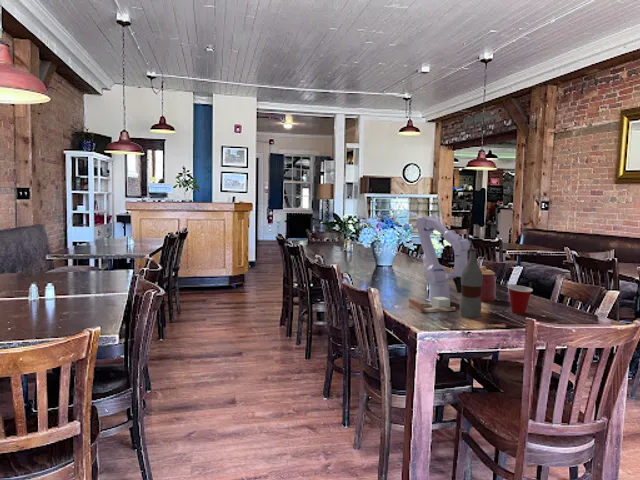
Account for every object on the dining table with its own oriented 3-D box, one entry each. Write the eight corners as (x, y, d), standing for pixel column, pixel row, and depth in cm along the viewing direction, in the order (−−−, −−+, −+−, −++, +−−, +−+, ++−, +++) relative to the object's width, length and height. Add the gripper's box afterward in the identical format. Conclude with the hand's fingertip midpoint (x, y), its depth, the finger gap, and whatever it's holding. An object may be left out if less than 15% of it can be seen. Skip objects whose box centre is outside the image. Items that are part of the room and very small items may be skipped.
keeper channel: (441, 305, 230) (442, 297, 229) (454, 310, 219) (455, 302, 219) (408, 307, 225) (408, 298, 224) (420, 312, 214) (420, 303, 213)
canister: (479, 302, 238) (481, 268, 236) (464, 297, 250) (465, 264, 249) (500, 301, 242) (502, 267, 241) (484, 296, 254) (486, 263, 253)
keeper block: (442, 306, 227) (443, 296, 226) (449, 309, 221) (450, 299, 221) (431, 307, 225) (432, 297, 225) (438, 310, 219) (439, 299, 219)
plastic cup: (520, 316, 210) (521, 290, 209) (500, 311, 219) (502, 286, 218) (536, 314, 215) (538, 288, 214) (517, 309, 224) (518, 284, 223)
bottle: (485, 316, 209) (488, 249, 206) (474, 319, 203) (477, 250, 200) (466, 312, 216) (469, 247, 213) (455, 315, 210) (458, 248, 207)
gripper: (452, 266, 218) (450, 294, 219) (478, 265, 223) (477, 293, 224) (443, 264, 225) (442, 292, 226) (469, 263, 229) (468, 290, 230)
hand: (459, 292), depth 225 cm, fingers closed
